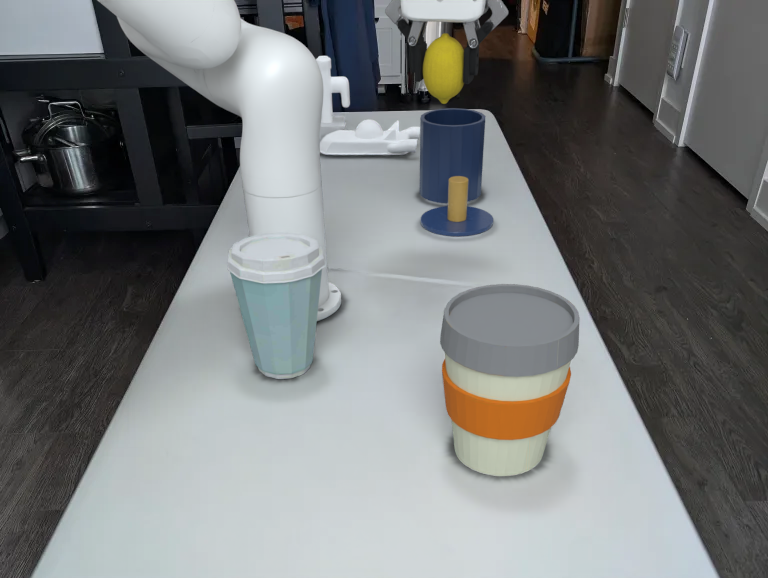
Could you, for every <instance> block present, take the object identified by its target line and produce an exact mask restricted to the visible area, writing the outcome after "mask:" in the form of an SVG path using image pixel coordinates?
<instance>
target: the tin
mask: <svg viewBox="0 0 768 578" xmlns="http://www.w3.org/2000/svg"><path fill="white" fill-rule="evenodd" d="M419 127H420V135H419V195H420V196H421V198H423V199H425V200H427V201H430V202H434V203H437V204H447V205H448V184H449V178H451V177H454V176H463V177H466V178H468V197H467V203H469V202H471V201H474V200H477V199H478V198H479V197H481V196H482V182H483V165H484V149H485V148H484V146H485V134H486V133H485V132H486V131H485V130H486V115H485V114H484V113H483V112H480V111H477V110H475V109H468V108H457V107H450V108H448V107H447V108H438V109H432V110H429V111H426V112H424V113H422V114H421V115H420V119H419Z"/></svg>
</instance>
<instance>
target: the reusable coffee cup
mask: <svg viewBox="0 0 768 578" xmlns="http://www.w3.org/2000/svg"><path fill="white" fill-rule="evenodd" d="M440 329H441V330H440V336H439V344H440V346H441V349H442V351H443V352H444V358H443V362H442V364H441V375H442V384H443V393H444V401H445V410H446V413H447V415H448V417H449V418H450V420H451V428H452V439H453V445H454V446H453V448H454V452H455V455H456V457H457V459H458V460H459V462H460V463H462V464H463V465H464V466H465V467H467V468H468V469H470V470H472V471H475V472H477V473H480V474H483V475H487V476H492V477H493V476H495V477H513V476H517V475H521V474H524V473H527V472H529V471H531V470H533V469H534V468H536V466H538V465H539V464H540V462H541V461H542V459H543V456H544V454H545V449H546V446H547V443H548V439H549V436H550V434H551V429H552V427H553V426H554V425H556V423H557V421H558V420H559V418H560V415H561V413H562V412H561V411H562V409H563V408H562V407H563V405H564V402H565V399H566V395H567V391H568V388H569V386H570V385H569V384H570V382H571V378H572V371H571V362H572V361H573V359H575V357H576V355H577V354H578V351H579V346H580V345H579V343H580V314H579V311H578V309H577V307H576V305H574V304H573V303H572V302H571V301H570V300H569V299H568V298H565V297H564V296H562V295H561V294H558V293H556V292H553V291H552V290H549V289H545V288H542V287H537V286H532V285H528V284H527V285H526V284H518V283H517V284H516V283H497V284H487V285H480V286H477V287H472V288H469V289H466V290H464V291H461V292H459V293H458V294H456V295H454V296H453V297H452V298H450V300H449V301H448V302H447V303H446V305H445V307H444V309H443V316H442V323H441V328H440Z"/></svg>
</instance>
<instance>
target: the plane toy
mask: <svg viewBox="0 0 768 578" xmlns="http://www.w3.org/2000/svg"><path fill="white" fill-rule="evenodd" d="M418 140H419V141H420V126H410V127H407V128H405V129H403V130H400V119H398V120H396V121H395V122H393V124H392V125H391V126H390V127H389V128H388V129H386V130H383V127H382V126H381V124H380V123H378V122H377V120H374V119H372V118H371V119H370V118H369V119H368V118H367V119H364V120H362V121H360V122H359V123H358V124H357V126H356V128H355V129H344V130H338V131H335V132H331V133H329V134H327V135H326V136H325V137H324V138H323V139H322V140H321V142H320V154H323V155H326V156H398V155H400V156H401V155H402V156H403V155H407V154H409V153H416V152H417V145H418Z"/></svg>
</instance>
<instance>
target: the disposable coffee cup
mask: <svg viewBox="0 0 768 578" xmlns="http://www.w3.org/2000/svg"><path fill="white" fill-rule="evenodd" d="M227 253H228V255H227V267H226V270H227V271H228V272H229V274H230V277H231V281H232V284H233V285H232V286H233V288H234V292H235V295H236V299H237V303H238V306H239V309H240V313H241V316H242V317H241V318H242V322H243V325H244V328H245V332H246V335H247V336H246V337H247V340H248V342H249V347H250V350H251V353H252V357H253V361H254V365H255V366H256V367H257V369H258V371H259V372H260V373H262V375H264V376H265V377H268V378H273V379H276V380H284V379H285V380H286V379H294V378H297V377H300V376H303V375H305V374H306V372H308V371H309V369H311V365H312V364H313V360H314V350H315V343H316V342H315V339H316V333H317V322H318V321H317V313H318V303H319V293H320V284H321V274H322V268H324V267H325V259H324V255H323V249H322V247H321V246H319V245H318V241H317V240H315V239H313V238H311V237H309V236H306V235H302V234H294V233H287V232H283V233H264V234H259V235H255V236H251V237H249V236H246V237H244V238H242V239H240V240H239V241H237V242H235V243H234V244H232V245H231V248H230V249H229V250H228V252H227Z"/></svg>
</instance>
